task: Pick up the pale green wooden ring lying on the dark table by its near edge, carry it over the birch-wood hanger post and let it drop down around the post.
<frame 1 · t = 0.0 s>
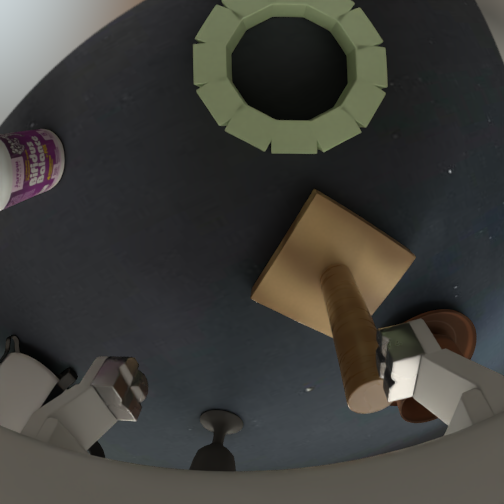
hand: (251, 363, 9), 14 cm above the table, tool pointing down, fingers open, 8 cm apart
coffee press: (53, 378, 32), on the table
ring: (290, 66, 17), on the table
hanger post: (332, 269, 23), on the table
cup and saucer: (416, 350, 26), on the table
pill bottle: (46, 158, 21), on the table
sundae: (221, 420, 31), on the table
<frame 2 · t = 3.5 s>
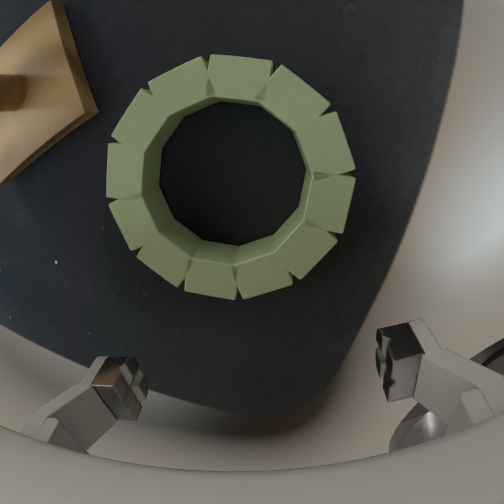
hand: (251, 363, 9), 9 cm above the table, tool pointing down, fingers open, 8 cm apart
ring: (229, 175, 16), on the table
hanger post: (30, 92, 14), on the table
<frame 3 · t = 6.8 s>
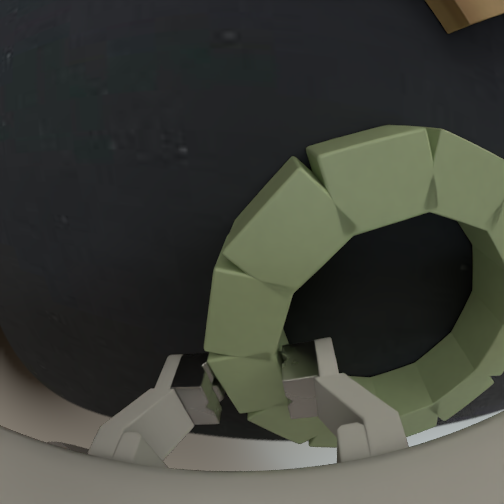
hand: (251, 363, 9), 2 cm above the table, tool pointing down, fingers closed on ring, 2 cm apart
ring: (385, 300, 10), on the table, touching gripper
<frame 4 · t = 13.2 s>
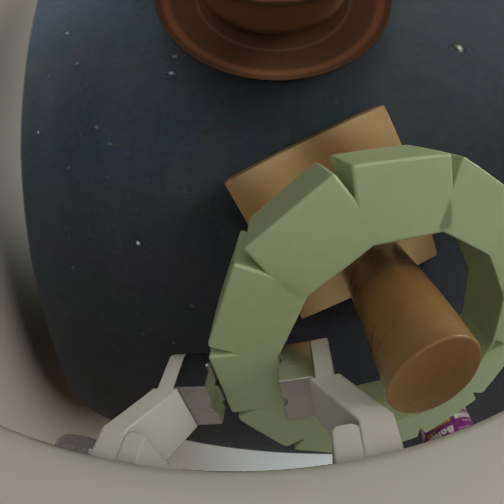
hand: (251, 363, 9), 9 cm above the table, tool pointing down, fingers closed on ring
ring: (382, 311, 11), point 7 cm above the table, touching gripper
hanger post: (338, 212, 17), on the table
pill bottle: (440, 414, 24), on the table
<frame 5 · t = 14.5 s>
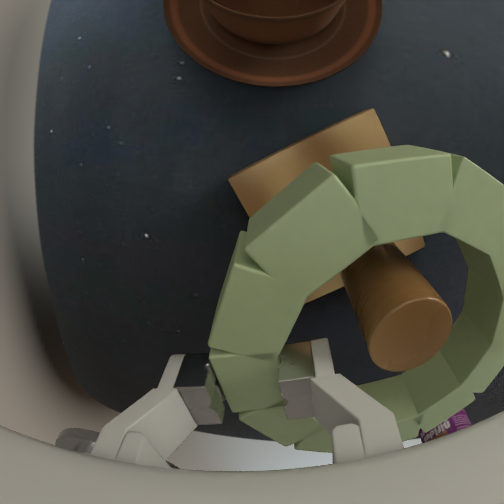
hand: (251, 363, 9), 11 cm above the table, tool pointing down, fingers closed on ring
ring: (382, 311, 11), point 9 cm above the table, touching gripper
hanger post: (332, 207, 18), on the table
cup and saucer: (273, 2, 14), on the table
pill bottle: (434, 405, 26), on the table
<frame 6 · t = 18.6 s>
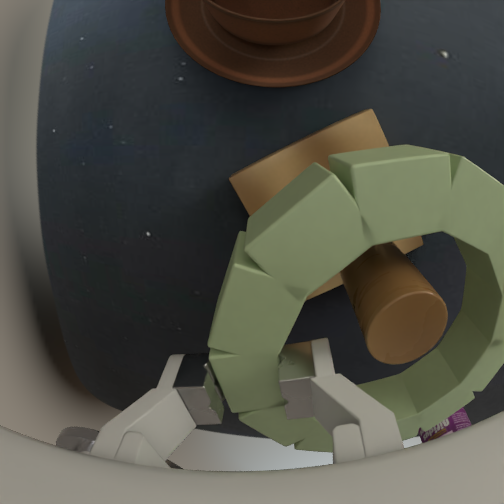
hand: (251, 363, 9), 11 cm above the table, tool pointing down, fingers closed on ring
ring: (381, 310, 11), point 9 cm above the table, touching gripper
hanger post: (331, 205, 19), on the table
cup and saucer: (273, 3, 14), on the table
pill bottle: (434, 403, 26), on the table
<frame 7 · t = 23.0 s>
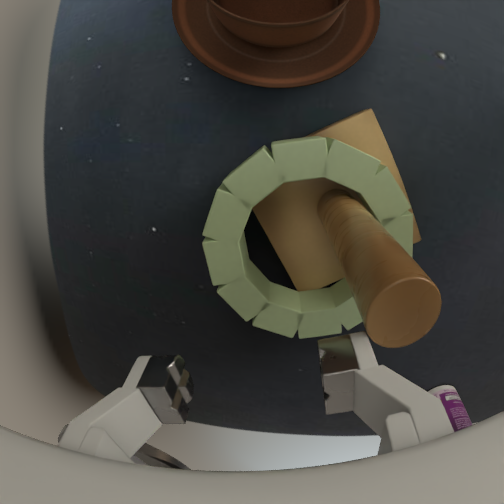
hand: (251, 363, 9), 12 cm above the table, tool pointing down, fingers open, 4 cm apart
ring: (308, 234, 19), point 1 cm above the table, touching hanger post
hanger post: (332, 202, 19), on the table
cup and saucer: (276, 6, 14), on the table
pill bottle: (433, 398, 27), on the table
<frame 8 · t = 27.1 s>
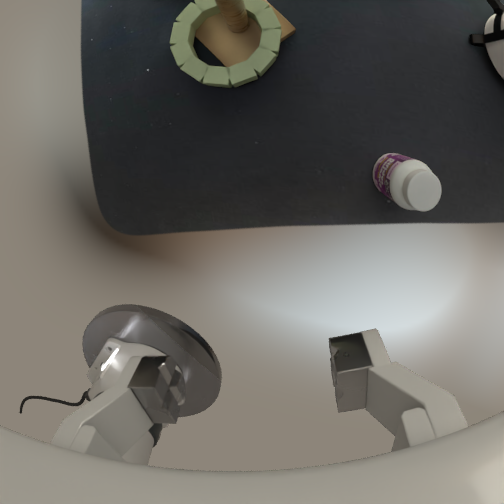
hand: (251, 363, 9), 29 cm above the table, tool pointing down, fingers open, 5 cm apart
coffee press: (497, 47, 25), on the table
ring: (227, 40, 28), point 1 cm above the table, touching hanger post
hanger post: (240, 28, 29), on the table
pill bottle: (390, 173, 35), on the table
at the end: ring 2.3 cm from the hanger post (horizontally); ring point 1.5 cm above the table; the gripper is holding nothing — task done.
